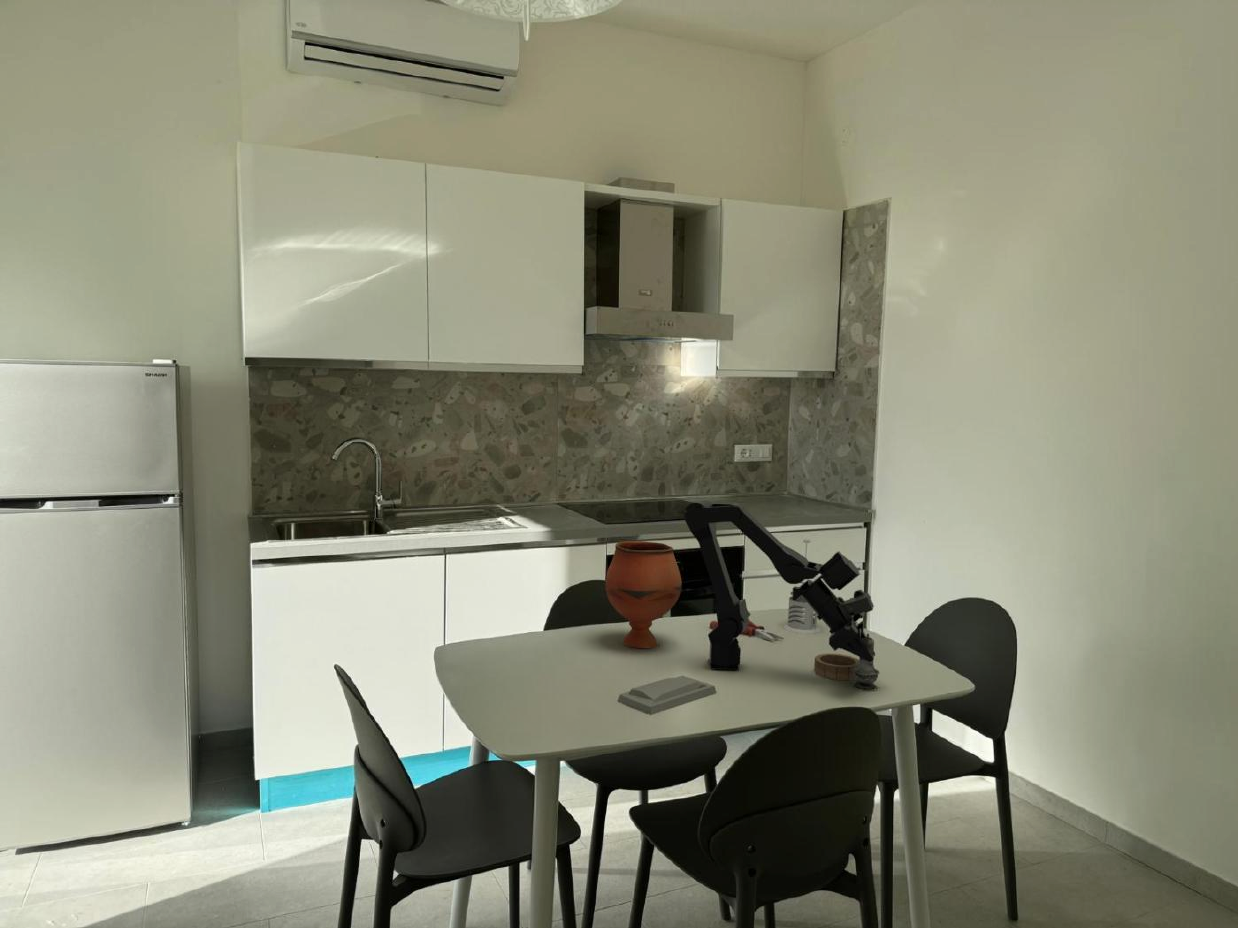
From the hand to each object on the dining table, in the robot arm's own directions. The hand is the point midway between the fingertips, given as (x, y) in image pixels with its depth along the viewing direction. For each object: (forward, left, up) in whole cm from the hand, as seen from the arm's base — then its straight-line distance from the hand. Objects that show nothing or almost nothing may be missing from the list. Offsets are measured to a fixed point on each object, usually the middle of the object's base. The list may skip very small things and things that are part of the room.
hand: (873, 658), depth 197 cm
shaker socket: (-5, +9, -7) cm, 13 cm away
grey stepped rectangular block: (-45, -11, -7) cm, 47 cm away
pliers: (-23, +41, -7) cm, 47 cm away
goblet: (-50, +27, -7) cm, 58 cm away
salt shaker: (-1, 0, -7) cm, 7 cm away
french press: (-5, +46, -7) cm, 47 cm away
